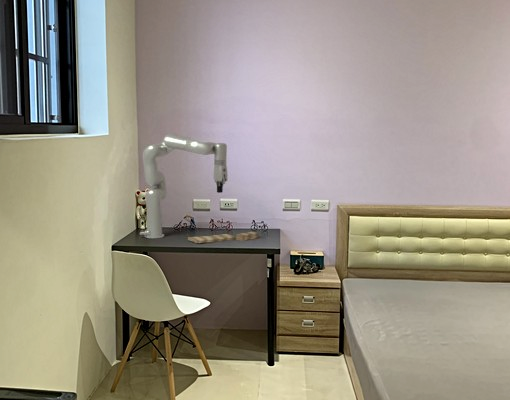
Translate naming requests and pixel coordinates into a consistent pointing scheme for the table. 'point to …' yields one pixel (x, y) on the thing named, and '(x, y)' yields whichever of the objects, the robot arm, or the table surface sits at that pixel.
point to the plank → (202, 239)
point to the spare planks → (247, 236)
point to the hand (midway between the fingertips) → (219, 192)
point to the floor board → (223, 237)
